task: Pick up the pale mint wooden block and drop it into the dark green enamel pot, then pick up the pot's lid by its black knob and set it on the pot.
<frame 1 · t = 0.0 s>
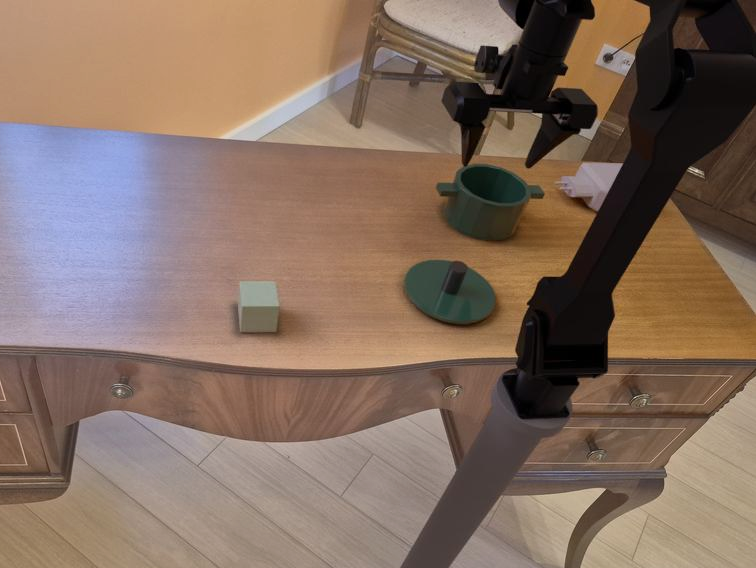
hand: (495, 165, 83), 14 cm above the table, tool pointing down, fingers open, 9 cm apart
block: (256, 319, 77), on the table
charger: (589, 199, 107), on the table
pot: (479, 218, 99), on the table
lid: (449, 291, 84), point 1 cm above the table
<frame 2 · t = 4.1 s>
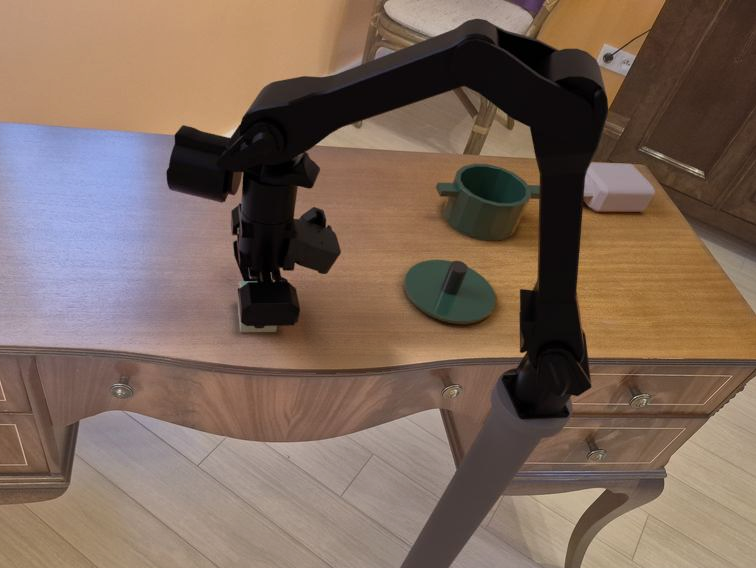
hand: (257, 313, 77), 1 cm above the table, tool pointing down, fingers closed on block, 4 cm apart
block: (256, 319, 77), on the table, touching gripper
everything else where it was.
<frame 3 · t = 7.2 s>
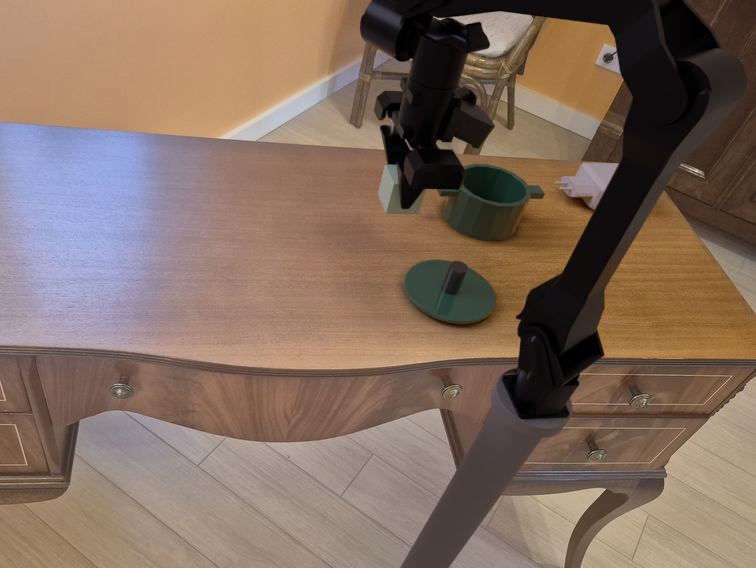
hand: (400, 197, 80), 11 cm above the table, tool pointing down, fingers closed on block, 4 cm apart
block: (397, 204, 81), point 10 cm above the table, touching gripper
everything else where it was.
when the fingers open (7 cm above the table, at t = 10.4 s): block drops 6 cm, resting on pot.
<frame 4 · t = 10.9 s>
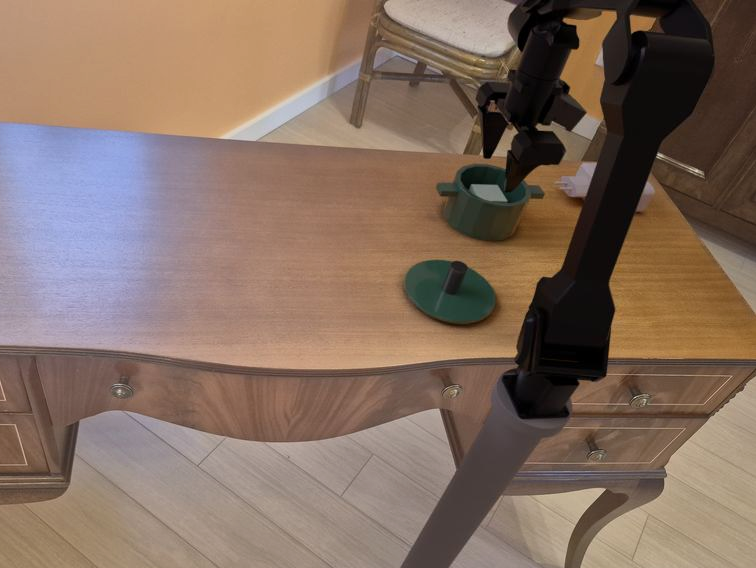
hand: (496, 174, 93), 8 cm above the table, tool pointing down, fingers open, 9 cm apart
block: (479, 216, 98), resting on pot
everything else where it was.
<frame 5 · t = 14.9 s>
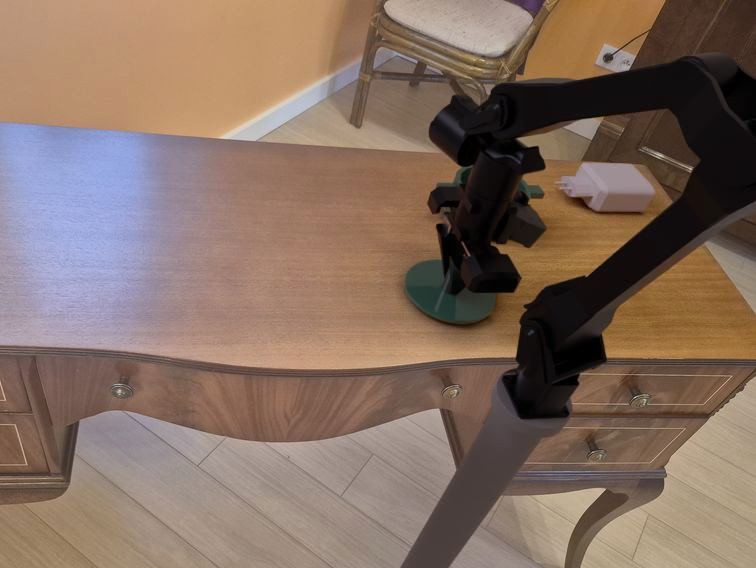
hand: (451, 286, 84), 2 cm above the table, tool pointing down, fingers closed on lid, 2 cm apart
lid: (449, 291, 84), point 1 cm above the table, touching gripper
everything else where it was.
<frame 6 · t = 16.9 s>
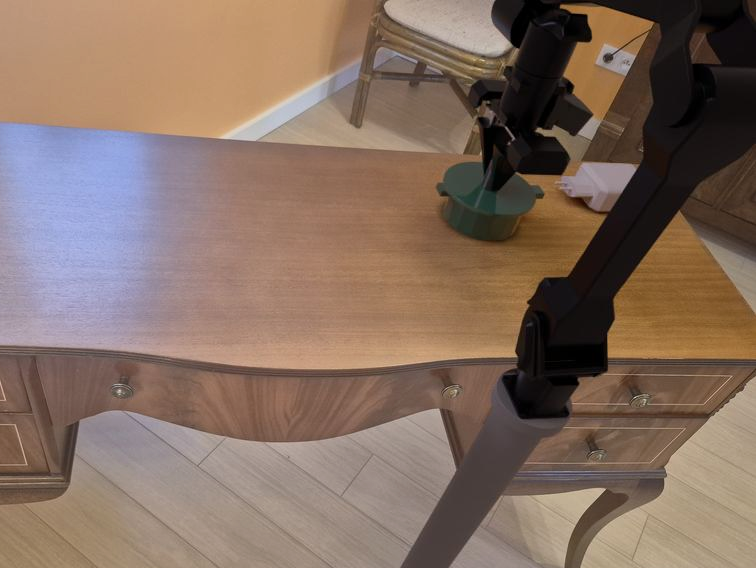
hand: (491, 184, 82), 12 cm above the table, tool pointing down, fingers closed on lid, 2 cm apart
lid: (488, 190, 83), point 11 cm above the table, touching gripper
everything else where it was.
when the fingers open (7 cm above the table, at t = 19.3 s): lid stays where it is, resting on pot.
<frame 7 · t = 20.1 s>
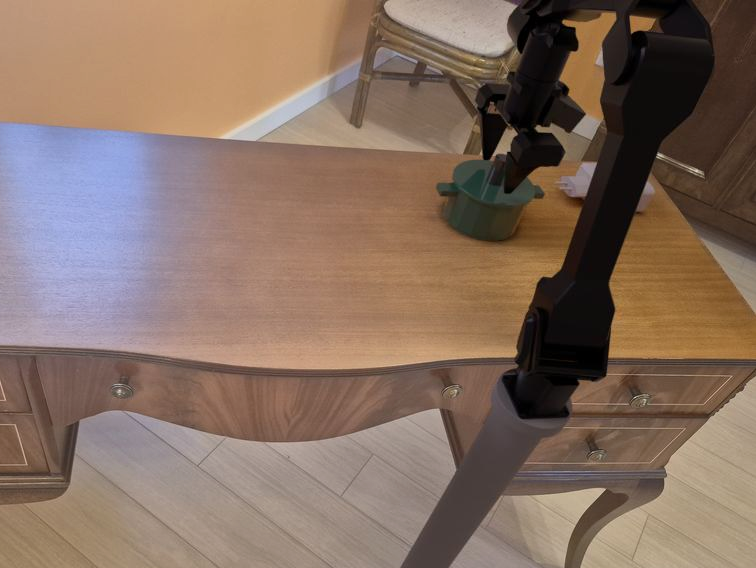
hand: (496, 175, 93), 8 cm above the table, tool pointing down, fingers open, 9 cm apart
lid: (492, 184, 94), point 6 cm above the table, touching pot
everything else where it was.
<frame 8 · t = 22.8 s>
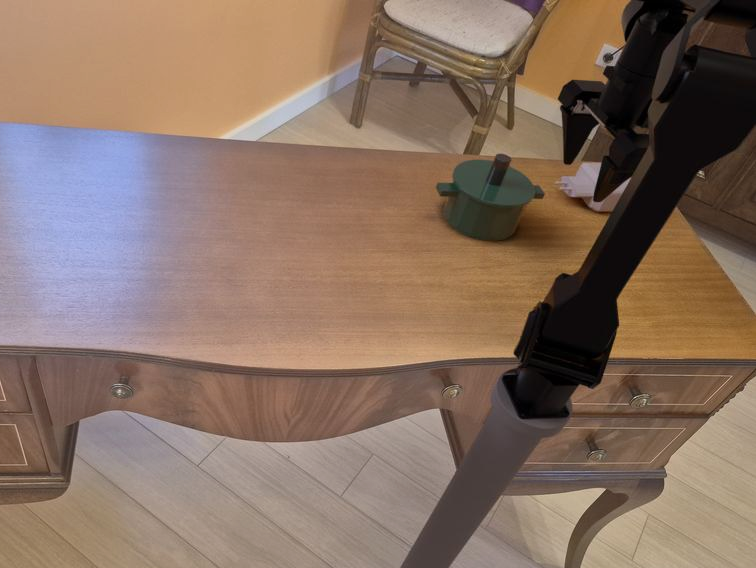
hand: (581, 182, 84), 13 cm above the table, tool pointing down, fingers open, 9 cm apart
nothing on the table moved.
at the end: block inside the target area in the pot (0.1 cm from its centre), point 0.4 cm above the pot's base; lid 0.1 cm off-centre on the pot, point 6.4 cm above the pot's base; lid tilted 0° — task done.
